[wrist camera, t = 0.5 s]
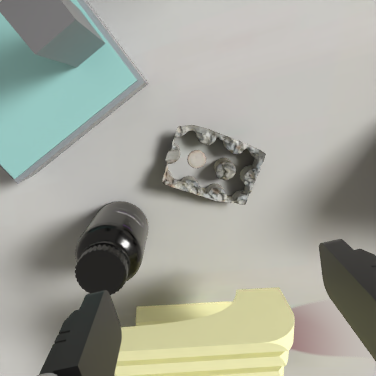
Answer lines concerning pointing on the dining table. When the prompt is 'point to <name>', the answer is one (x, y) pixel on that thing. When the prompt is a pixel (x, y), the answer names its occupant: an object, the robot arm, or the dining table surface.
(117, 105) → the open box
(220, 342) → the slatted curved stool
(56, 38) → the lid
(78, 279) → the supplement bottle
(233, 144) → the egg carton
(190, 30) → the dining table surface
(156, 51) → the dining table surface
